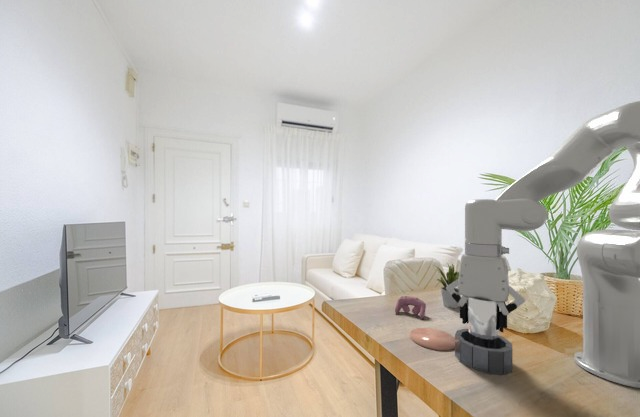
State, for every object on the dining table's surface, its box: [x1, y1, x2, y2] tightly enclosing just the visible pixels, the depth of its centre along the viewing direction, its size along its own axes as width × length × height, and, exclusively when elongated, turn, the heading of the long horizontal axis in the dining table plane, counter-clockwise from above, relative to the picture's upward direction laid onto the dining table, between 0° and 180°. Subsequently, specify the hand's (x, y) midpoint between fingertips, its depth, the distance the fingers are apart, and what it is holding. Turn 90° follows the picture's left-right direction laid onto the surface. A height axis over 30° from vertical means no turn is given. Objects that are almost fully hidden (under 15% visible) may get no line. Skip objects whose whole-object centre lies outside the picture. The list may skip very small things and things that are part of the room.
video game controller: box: [394, 295, 427, 320], centre depth 92 cm, size 10×5×7 cm, turn 58°
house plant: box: [435, 263, 462, 309], centre depth 99 cm, size 14×14×16 cm
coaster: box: [409, 327, 455, 352], centre depth 73 cm, size 12×12×1 cm
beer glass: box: [466, 297, 501, 349], centre depth 63 cm, size 7×7×15 cm
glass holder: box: [454, 328, 513, 376], centre depth 62 cm, size 11×11×5 cm
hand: (482, 325), depth 63 cm, fingers closed on beer glass, 6 cm apart
